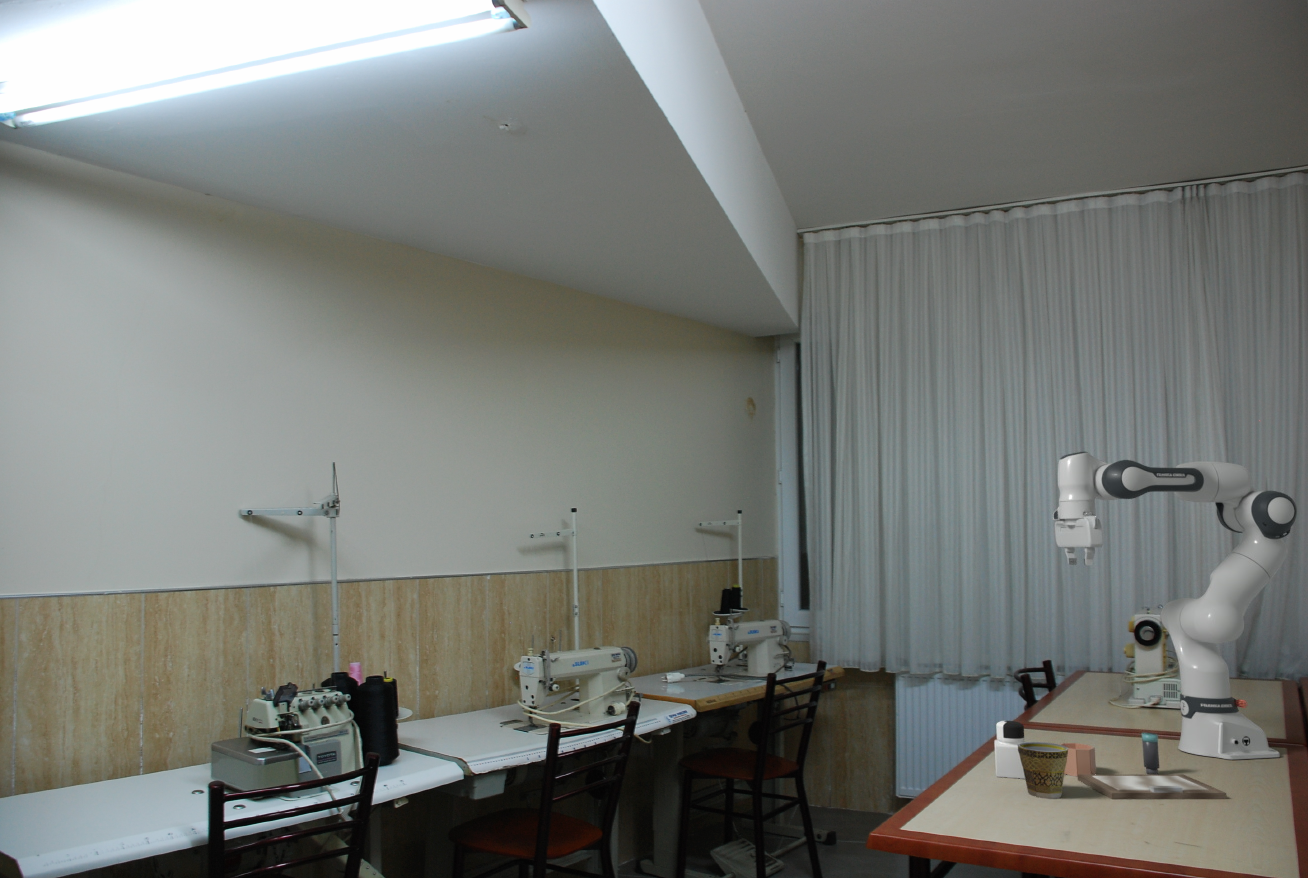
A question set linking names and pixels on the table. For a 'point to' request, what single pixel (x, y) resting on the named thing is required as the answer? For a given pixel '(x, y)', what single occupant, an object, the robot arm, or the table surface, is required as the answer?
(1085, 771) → the pen pot
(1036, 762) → the ceramic cup
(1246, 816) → the table surface
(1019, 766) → the medicine bottle
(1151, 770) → the marker
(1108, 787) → the brown picture frame
